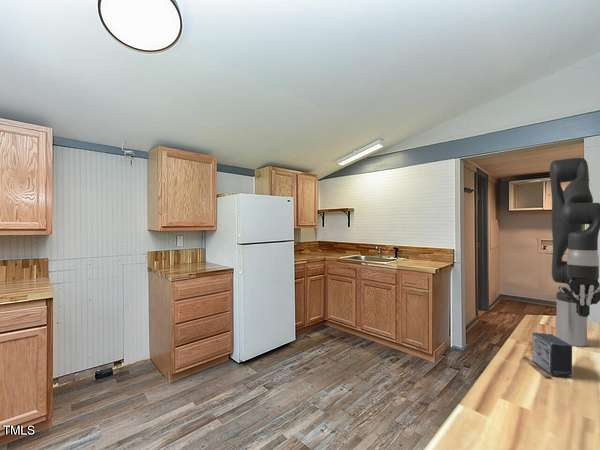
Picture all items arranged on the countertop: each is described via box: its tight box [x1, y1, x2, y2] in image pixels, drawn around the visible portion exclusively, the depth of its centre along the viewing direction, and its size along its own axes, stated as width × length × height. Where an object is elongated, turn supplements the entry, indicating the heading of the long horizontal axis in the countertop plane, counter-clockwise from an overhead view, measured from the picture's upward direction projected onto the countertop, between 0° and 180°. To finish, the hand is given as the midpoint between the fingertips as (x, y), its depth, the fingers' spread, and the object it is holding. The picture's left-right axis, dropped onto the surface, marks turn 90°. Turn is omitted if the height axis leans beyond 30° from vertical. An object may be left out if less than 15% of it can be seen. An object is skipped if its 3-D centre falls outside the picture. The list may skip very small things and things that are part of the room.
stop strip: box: [522, 356, 552, 380], centre depth 99 cm, size 14×2×1 cm, turn 167°
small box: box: [531, 332, 573, 379], centre depth 98 cm, size 11×6×10 cm, turn 168°
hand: (582, 316), depth 96 cm, fingers closed
